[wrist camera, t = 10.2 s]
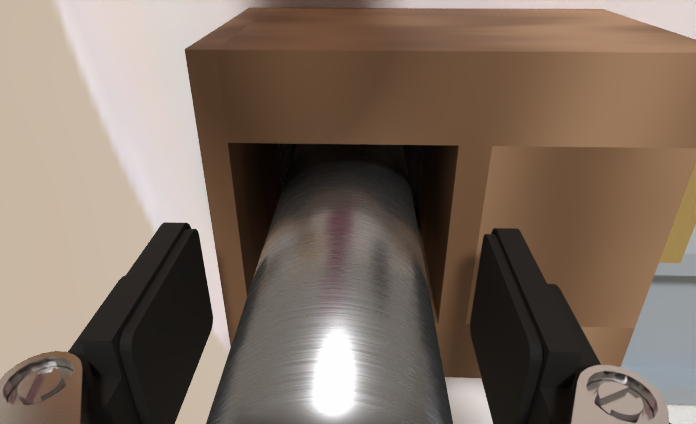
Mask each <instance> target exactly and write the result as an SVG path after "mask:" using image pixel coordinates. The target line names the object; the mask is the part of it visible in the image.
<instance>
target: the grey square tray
mask: <svg viewBox="0 0 696 424" xmlns="http://www.w3.org/2000/svg"><path fill="white" fill-rule="evenodd" d="M621 368H624V369H627V370H629V371H632V372H634V373H636V374H638V375H639V376H641V377H643V378H644V379H646V380H647V381H649V382H650V383H651V384H652V385H653V386H654V387H655V388H656V389H657V390H658V391H659V392H660V394H661V395H662V397H663V398H664V400H665V401H666V405H696V225H695V227H694V230H693V232H692V235H691V237H690V240H689V243H688V245H687V248H686V250H685V253H684V255H683V258H682V260H681V263H659V264H658V266H657V269H656V272H655V275H654V277H653V280H652V283H651V286H650V288H649V291H648V294H647V296H646V299H645V302H644V305H643V307H642V310H641V313H640V315H639V318H638V321H637V324H636V326H635V329H634V332H633V334H632V337H631V340H630V343H629V345H628V348H627V351H626V354H625V356H624V359H623V362H622V364H621Z"/></svg>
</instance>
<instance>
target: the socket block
mask: <svg viewBox="0 0 696 424" xmlns="http://www.w3.org/2000/svg"><path fill="white" fill-rule="evenodd" d="M185 54H186V60H187V67H188V73H189V80H190V86H191V93H192V99H193V106H194V112H195V118H196V125H197V131H198V138H199V144H200V151H201V157H202V164H203V170H204V177H205V183H206V190H207V196H208V202H209V209H210V215H211V222H212V228H213V235H214V241H215V248H216V254H217V261H218V267H219V274H220V280H221V287H222V293H223V299H224V306H225V312H226V319H227V325H228V332H229V338H230V345H231V346H232V343H233V339H234V336H235V333H236V330H237V327H238V324H239V321H240V318H241V315H242V312H243V309H244V306H245V302H246V299H247V296H248V293H249V290H250V287H251V284H252V281H253V278H254V275H255V272H256V268H257V265H258V262H259V259H260V256H261V253H262V250H263V247H264V244H265V241H266V238H267V235H268V231H269V228H270V225H271V222H272V219H273V216H274V213H275V210H276V207H277V204H278V201H279V198H280V194H281V191H282V188H283V187H282V173H281V159H280V145H279V143H290V144H373V145H423V146H422V159H421V172H420V185H419V198H418V209H415V215H416V221H417V226H418V232H419V237H420V243H421V248H422V254H423V260H424V265H425V271H426V276H427V282H428V288H429V293H430V299H431V304H432V310H433V315H434V321H435V327H436V332H437V338H438V343H439V349H440V355H441V360H442V366H443V371H444V377H464V378H481V374H480V370H479V366H478V362H477V358H476V354H475V350H474V346H473V343H472V339H471V334H470V319H471V313H472V306H473V300H474V293H475V287H476V280H477V274H478V267H479V261H480V255H481V248H482V242H483V237H484V235H485V234H491V232H492V230H493V229H494V228H516V229H519V230H520V232H521V234H522V236H523V237H524V239H525V241H526V243H527V245H528V247H529V249H530V251H531V253H532V255H533V257H534V259H535V261H536V263H537V265H538V267H539V269H540V271H541V273H542V275H543V277H544V279H545V280H546V282H547V284H556V285H558V287H559V288H560V289H561V291H562V293H563V295H564V297H565V299H566V300H567V302H568V304H569V306H570V308H571V310H572V312H573V313H574V315H575V317H576V319H577V321H578V323H579V325H580V326H581V328H582V330H583V332H584V334H585V336H586V337H587V339H588V341H589V343H590V345H591V347H592V349H593V350H594V352H595V354H596V356H597V358H598V360H599V362H600V363H601V365H612V366H617V367H621V364H622V362H623V359H624V356H625V354H626V351H627V348H628V345H629V343H630V340H631V337H632V334H633V332H634V329H635V326H636V324H637V321H638V318H639V315H640V313H641V310H642V307H643V305H644V302H645V299H646V296H647V294H648V291H649V288H650V286H651V283H652V280H653V277H654V275H655V272H656V269H657V266H658V264H659V261H660V258H661V256H662V253H663V250H664V247H665V245H666V242H667V239H668V237H669V234H670V231H671V228H672V226H673V223H674V220H675V218H676V215H677V212H678V209H679V207H680V204H681V201H682V198H683V196H684V193H685V190H686V188H687V185H688V182H689V179H690V177H691V174H692V171H693V169H694V166H695V163H696V40H695V39H692V38H689V37H686V36H683V35H680V34H676V33H673V32H670V31H667V30H664V29H661V28H658V27H655V26H652V25H649V24H646V23H643V22H640V21H637V20H634V19H631V18H628V17H625V16H622V15H619V14H616V13H613V12H610V11H606V10H603V9H408V8H248V9H247V10H245V11H244V12H242V13H241V14H239V15H238V16H236V17H234V18H233V19H231V20H230V21H228V22H227V23H225V24H224V25H222V26H220V27H219V28H217V29H216V30H214V31H213V32H211V33H210V34H208V35H206V36H205V37H203V38H202V39H200V40H199V41H197V42H196V43H194V44H192V45H191V46H189V47H188V48H186V49H185Z"/></svg>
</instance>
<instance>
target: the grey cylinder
mask: <svg viewBox="0 0 696 424" xmlns="http://www.w3.org/2000/svg"><path fill="white" fill-rule="evenodd" d="M206 424H453V421H452V416H451V410H450V405H449V399H448V394H447V388H446V382H445V377H444V371H443V366H442V360H441V355H440V349H439V343H438V338H437V332H436V327H435V321H434V315H433V310H432V304H431V299H430V293H429V288H428V282H427V276H426V271H425V265H424V260H423V254H422V248H421V243H420V237H419V232H418V226H417V221H416V215H415V209H414V204H413V198H412V193H411V187H410V182H409V176H408V170H407V165H406V159H405V154H404V148H403V145H373V144H297V145H296V148H295V151H294V154H293V157H292V161H291V164H290V167H289V170H288V173H287V176H286V179H285V182H284V185H283V188H282V191H281V194H280V198H279V201H278V204H277V207H276V210H275V213H274V216H273V219H272V222H271V225H270V228H269V231H268V235H267V238H266V241H265V244H264V247H263V250H262V253H261V256H260V259H259V262H258V265H257V268H256V272H255V275H254V278H253V281H252V284H251V287H250V290H249V293H248V296H247V299H246V302H245V306H244V309H243V312H242V315H241V318H240V321H239V324H238V327H237V330H236V333H235V336H234V339H233V343H232V346H231V349H230V352H229V355H228V358H227V361H226V364H225V367H224V370H223V374H222V377H221V380H220V383H219V386H218V389H217V392H216V395H215V398H214V401H213V404H212V407H211V410H210V414H209V417H208V420H207V423H206Z"/></svg>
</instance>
